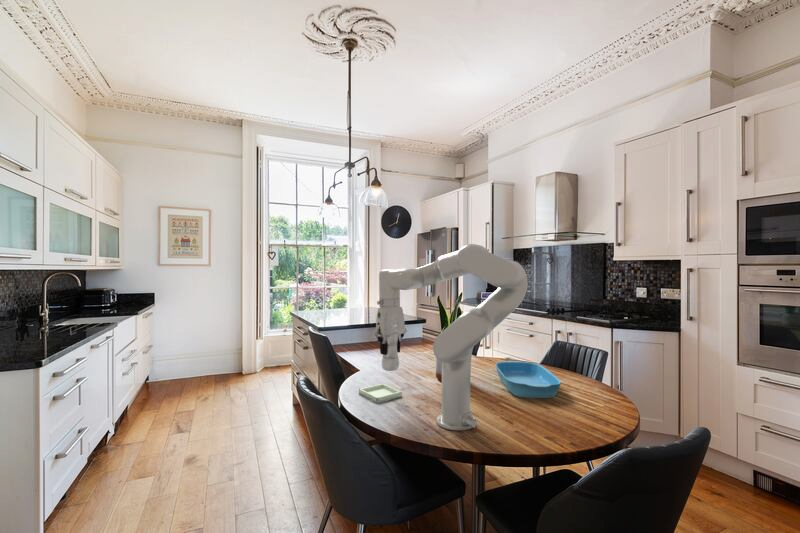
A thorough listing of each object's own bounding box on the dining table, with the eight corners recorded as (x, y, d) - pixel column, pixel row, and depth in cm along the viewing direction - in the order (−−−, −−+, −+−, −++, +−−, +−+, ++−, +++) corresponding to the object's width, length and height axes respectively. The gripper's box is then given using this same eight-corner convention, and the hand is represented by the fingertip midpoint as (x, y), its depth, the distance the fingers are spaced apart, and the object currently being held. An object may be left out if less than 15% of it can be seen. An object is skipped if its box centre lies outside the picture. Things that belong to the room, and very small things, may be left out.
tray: (401, 396, 152) (401, 391, 152) (376, 403, 144) (377, 398, 144) (382, 388, 162) (382, 383, 162) (358, 393, 155) (358, 389, 155)
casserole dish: (569, 403, 147) (569, 385, 147) (511, 402, 147) (511, 384, 147) (537, 375, 183) (537, 360, 183) (490, 374, 184) (490, 360, 184)
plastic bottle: (383, 373, 134) (383, 317, 134) (379, 368, 140) (379, 314, 141) (401, 372, 136) (400, 316, 136) (396, 367, 142) (396, 314, 142)
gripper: (376, 305, 130) (376, 358, 130) (414, 302, 140) (414, 351, 140) (364, 304, 136) (364, 354, 136) (401, 301, 146) (402, 348, 146)
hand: (390, 352), depth 138 cm, fingers closed on plastic bottle, 5 cm apart
